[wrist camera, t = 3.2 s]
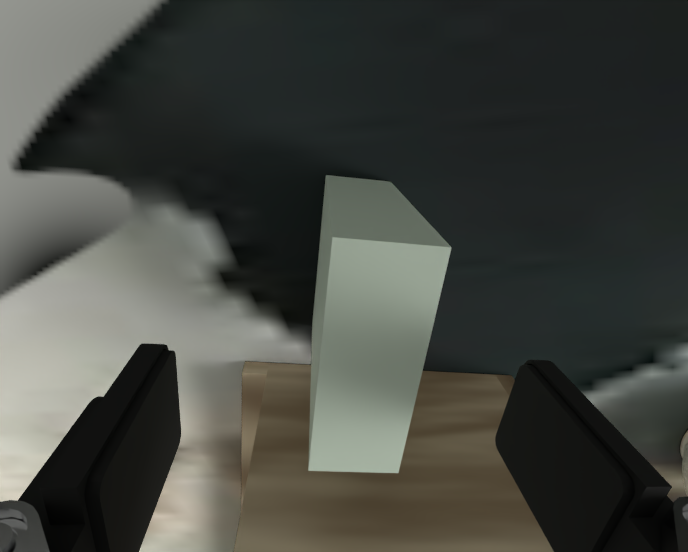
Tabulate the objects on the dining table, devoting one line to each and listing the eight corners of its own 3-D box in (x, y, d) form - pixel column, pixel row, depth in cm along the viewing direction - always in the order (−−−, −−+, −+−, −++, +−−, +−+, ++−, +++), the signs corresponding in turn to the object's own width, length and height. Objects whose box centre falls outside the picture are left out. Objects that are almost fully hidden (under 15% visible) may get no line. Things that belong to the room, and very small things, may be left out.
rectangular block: (325, 174, 18) (332, 237, 9) (390, 181, 18) (451, 247, 10) (312, 326, 21) (308, 470, 13) (367, 329, 21) (398, 473, 13)
